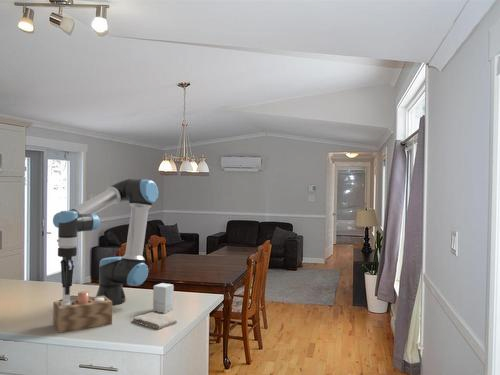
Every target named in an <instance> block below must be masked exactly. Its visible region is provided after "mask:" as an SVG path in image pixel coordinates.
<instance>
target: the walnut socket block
mask: <svg viewBox="0 0 500 375" xmlns="http://www.w3.org/2000/svg"><path fill="white" fill-rule="evenodd" d="M95 298H104V301H98V302H94V299H95ZM62 301H63V300H59V301H57V300H56V301H53V304H52V305H53V308H52V309H53V310H52V311H53V312H52V313H53V314H52V316H53V317H52V321H53V322H52V325H53V328H55V329H56V330H57V331H58V333H66V332H71V331H77V330H85V329H90V328H91V329H92V328H97V326H98V327H102V325H104V326H108V325H107V324H110V325H113V305H112V301H111V300H109V299H108V298H107V297H105V296H97V297H96V296H89V300H88V303H83V304H78V298H75V299H73V298H72V299H70V301H72V305H68V306H61V302H62Z"/></svg>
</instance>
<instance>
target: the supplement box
mask: <svg viewBox="0 0 500 375" xmlns="http://www.w3.org/2000/svg"><path fill="white" fill-rule="evenodd" d="M174 289H175V286H174V284H171V283H165V282H161V283H157V284H155V285H153V290H152V291H153V293H152V294H153V298H152V300H153V303H152V312H155V311H157V312H156V313H161V312H162V313H163V314H167V313H169V312H171V311H173V310H174ZM170 310H171V311H170ZM168 311H169V312H168ZM166 312H167V313H166Z"/></svg>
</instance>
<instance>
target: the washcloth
mask: <svg viewBox="0 0 500 375" xmlns="http://www.w3.org/2000/svg"><path fill="white" fill-rule="evenodd" d="M132 321H133V322H134V323H137V322H138V323H137V324H139V323H142V324H144V325H143V326H145V325H147V326H146V327H148V326H151V327H150V328H152V327H154V328H153V329H155V328H156V329H155V330H161V329H163V328H165V327H170V326H172V324H173V325H176V324H177V323H178V321H177V319H176V318H173V317H169V316H167V315H164V314H161V313H158V312H154V311H149V312H146V313H145V314H138V315H136V316H134V317H133V319H132ZM175 323H176V324H175ZM142 324H141V325H142ZM169 325H170V326H169ZM160 328H161V329H160Z"/></svg>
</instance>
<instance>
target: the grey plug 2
mask: <svg viewBox="0 0 500 375" xmlns="http://www.w3.org/2000/svg"><path fill="white" fill-rule="evenodd" d="M98 301H104V298H95V299H94V302H98Z"/></svg>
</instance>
